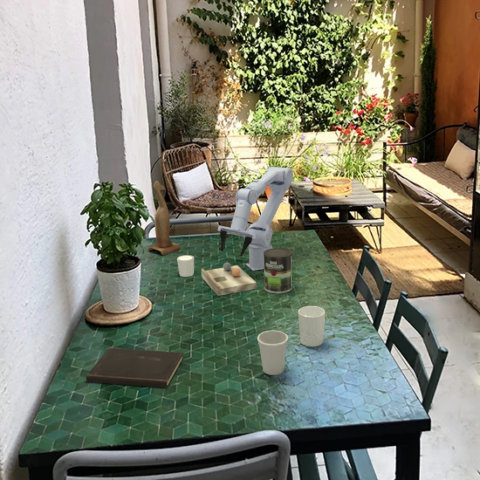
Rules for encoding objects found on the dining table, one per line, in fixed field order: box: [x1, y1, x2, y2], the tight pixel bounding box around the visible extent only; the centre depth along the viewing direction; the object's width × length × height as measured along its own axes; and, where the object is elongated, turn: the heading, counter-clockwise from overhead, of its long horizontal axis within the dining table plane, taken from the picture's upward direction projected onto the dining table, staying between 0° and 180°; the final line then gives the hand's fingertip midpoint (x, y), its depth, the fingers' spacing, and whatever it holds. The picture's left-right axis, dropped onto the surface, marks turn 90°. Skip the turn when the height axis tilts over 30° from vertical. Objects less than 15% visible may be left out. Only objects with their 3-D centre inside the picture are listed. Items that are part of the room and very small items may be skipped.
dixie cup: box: [256, 330, 289, 376], centre depth 160 cm, size 8×8×10 cm
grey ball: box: [222, 262, 232, 271], centre depth 228 cm, size 3×3×3 cm
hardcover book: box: [85, 347, 184, 389], centre depth 164 cm, size 16×23×2 cm
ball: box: [232, 268, 240, 277], centre depth 222 cm, size 3×3×3 cm
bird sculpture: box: [147, 180, 182, 256], centre depth 258 cm, size 11×12×32 cm
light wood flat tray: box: [200, 264, 257, 297], centre depth 222 cm, size 15×20×4 cm
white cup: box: [297, 305, 326, 348], centre depth 174 cm, size 8×8×10 cm
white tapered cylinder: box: [176, 254, 195, 278], centre depth 232 cm, size 7×7×7 cm
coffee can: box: [263, 247, 293, 294], centre depth 214 cm, size 10×10×14 cm
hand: (231, 253), depth 220 cm, fingers open, 7 cm apart
